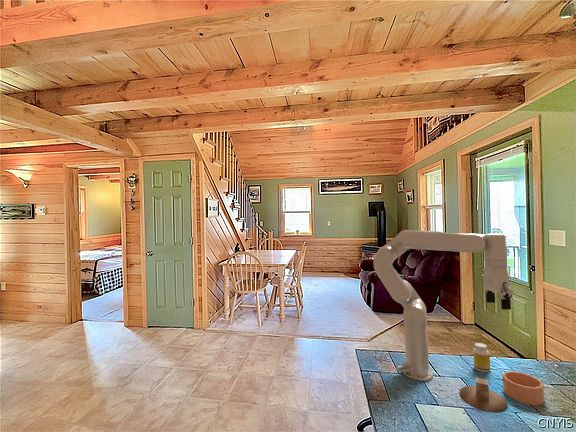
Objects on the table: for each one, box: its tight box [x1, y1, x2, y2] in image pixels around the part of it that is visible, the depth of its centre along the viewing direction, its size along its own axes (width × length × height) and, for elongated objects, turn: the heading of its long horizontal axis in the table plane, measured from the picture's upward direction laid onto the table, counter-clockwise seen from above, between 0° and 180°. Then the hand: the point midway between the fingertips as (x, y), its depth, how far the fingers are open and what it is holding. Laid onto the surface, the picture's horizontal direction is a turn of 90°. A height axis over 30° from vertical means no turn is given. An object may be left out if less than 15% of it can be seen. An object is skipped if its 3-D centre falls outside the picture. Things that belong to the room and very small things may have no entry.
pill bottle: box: [472, 342, 491, 373], centre depth 129 cm, size 6×6×11 cm
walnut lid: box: [459, 377, 508, 413], centre depth 108 cm, size 15×15×7 cm
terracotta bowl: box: [502, 370, 545, 406], centre depth 109 cm, size 12×12×6 cm
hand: (498, 305), depth 114 cm, fingers open, 9 cm apart
